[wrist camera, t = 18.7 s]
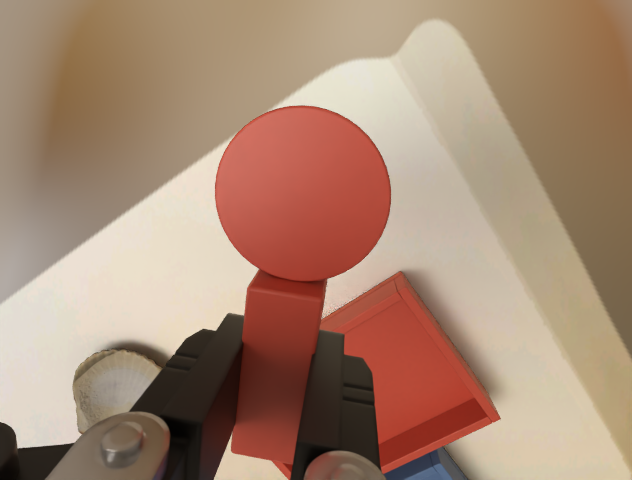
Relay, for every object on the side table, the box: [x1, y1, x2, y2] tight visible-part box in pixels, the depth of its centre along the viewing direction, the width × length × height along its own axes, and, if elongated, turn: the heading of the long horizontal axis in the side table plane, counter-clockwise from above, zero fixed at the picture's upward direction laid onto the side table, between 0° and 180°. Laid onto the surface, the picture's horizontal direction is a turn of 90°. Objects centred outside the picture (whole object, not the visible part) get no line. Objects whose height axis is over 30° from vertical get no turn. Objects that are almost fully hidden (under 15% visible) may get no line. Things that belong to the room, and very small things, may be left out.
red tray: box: [272, 271, 501, 480], centre depth 26 cm, size 15×11×3 cm
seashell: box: [73, 349, 162, 434], centre depth 28 cm, size 8×3×8 cm
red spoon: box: [215, 106, 391, 464], centre depth 8 cm, size 8×4×2 cm, turn 171°
